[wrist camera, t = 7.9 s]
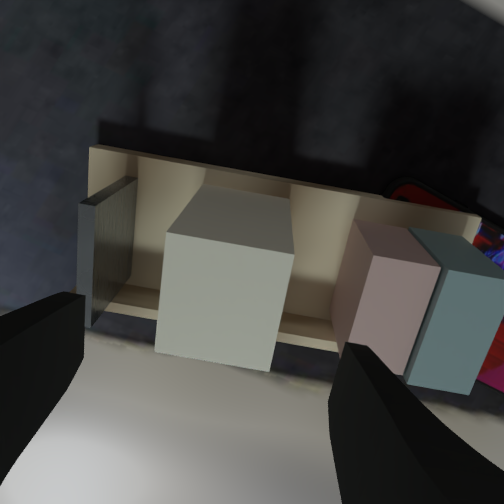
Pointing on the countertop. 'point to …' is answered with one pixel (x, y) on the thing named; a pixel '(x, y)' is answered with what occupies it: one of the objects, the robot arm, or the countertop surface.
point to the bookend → (105, 244)
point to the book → (225, 278)
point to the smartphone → (486, 240)
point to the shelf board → (303, 227)
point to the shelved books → (418, 303)
